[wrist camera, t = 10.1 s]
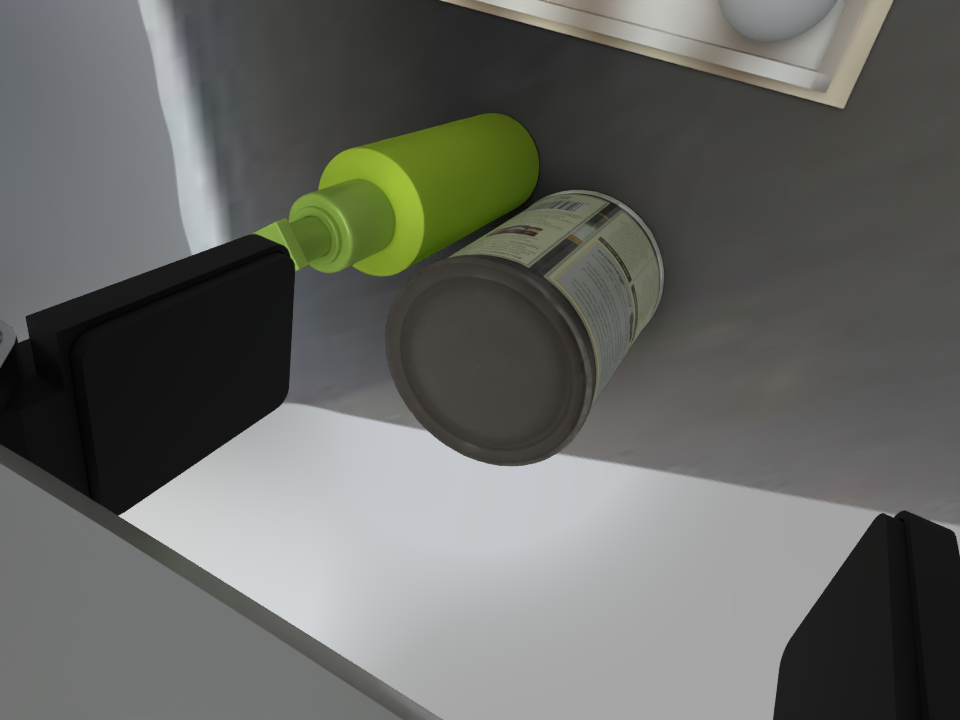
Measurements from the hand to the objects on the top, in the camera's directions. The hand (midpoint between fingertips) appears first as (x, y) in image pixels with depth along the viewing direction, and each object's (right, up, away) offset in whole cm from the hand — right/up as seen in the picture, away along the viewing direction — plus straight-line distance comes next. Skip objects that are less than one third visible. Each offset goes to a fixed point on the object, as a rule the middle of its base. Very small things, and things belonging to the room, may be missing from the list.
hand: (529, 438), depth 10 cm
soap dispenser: (0, +13, +32) cm, 34 cm away
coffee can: (+6, +7, +32) cm, 33 cm away
